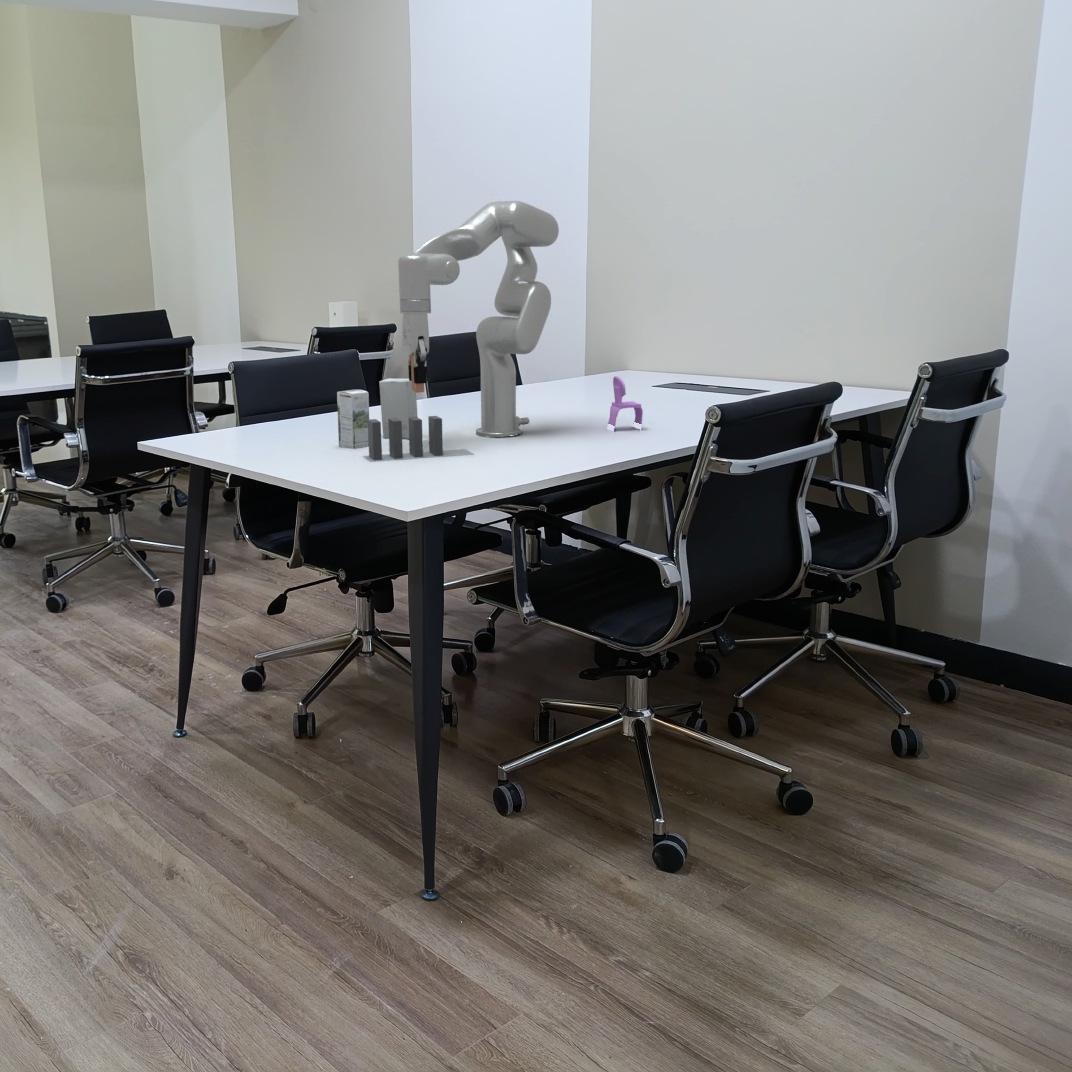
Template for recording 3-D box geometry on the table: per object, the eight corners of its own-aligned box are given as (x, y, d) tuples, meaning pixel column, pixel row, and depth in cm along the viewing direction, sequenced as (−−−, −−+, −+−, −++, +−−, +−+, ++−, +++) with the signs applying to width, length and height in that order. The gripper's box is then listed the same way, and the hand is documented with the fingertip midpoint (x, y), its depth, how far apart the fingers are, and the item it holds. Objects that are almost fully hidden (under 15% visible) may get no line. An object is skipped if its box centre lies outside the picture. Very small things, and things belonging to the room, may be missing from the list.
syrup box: (355, 444, 272) (353, 388, 268) (371, 447, 268) (368, 390, 264) (338, 447, 267) (335, 390, 264) (354, 450, 264) (351, 392, 260)
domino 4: (417, 453, 257) (416, 416, 255) (423, 456, 253) (421, 419, 251) (409, 453, 257) (408, 417, 254) (414, 457, 252) (413, 420, 250)
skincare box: (419, 435, 285) (417, 378, 281) (409, 439, 279) (408, 381, 275) (390, 434, 288) (388, 377, 284) (380, 438, 281) (378, 380, 277)
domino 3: (419, 389, 264) (418, 353, 261) (424, 392, 259) (423, 355, 257) (411, 390, 263) (410, 353, 261) (416, 392, 258) (415, 355, 256)
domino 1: (377, 456, 254) (375, 419, 252) (382, 459, 249) (380, 422, 247) (369, 456, 253) (367, 419, 251) (373, 460, 249) (372, 422, 246)
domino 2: (397, 454, 256) (396, 418, 253) (402, 458, 251) (401, 420, 249) (389, 455, 255) (388, 418, 253) (394, 458, 250) (393, 421, 248)
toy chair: (644, 431, 294) (645, 377, 290) (614, 432, 291) (616, 378, 287) (633, 426, 301) (634, 374, 297) (604, 427, 299) (605, 375, 295)
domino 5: (437, 452, 259) (436, 415, 257) (442, 455, 255) (442, 418, 252) (429, 452, 259) (428, 416, 256) (434, 456, 254) (434, 419, 252)
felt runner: (465, 450, 263) (465, 449, 263) (475, 456, 256) (475, 454, 256) (362, 457, 254) (362, 455, 254) (370, 463, 247) (370, 461, 247)
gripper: (393, 305, 262) (396, 378, 267) (407, 309, 247) (410, 386, 251) (422, 305, 265) (424, 377, 269) (438, 308, 249) (441, 385, 254)
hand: (417, 381), depth 260 cm, fingers closed on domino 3, 4 cm apart
